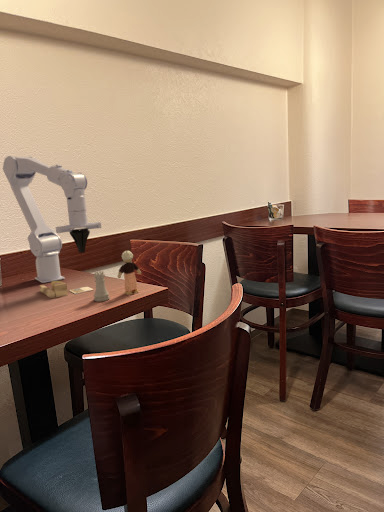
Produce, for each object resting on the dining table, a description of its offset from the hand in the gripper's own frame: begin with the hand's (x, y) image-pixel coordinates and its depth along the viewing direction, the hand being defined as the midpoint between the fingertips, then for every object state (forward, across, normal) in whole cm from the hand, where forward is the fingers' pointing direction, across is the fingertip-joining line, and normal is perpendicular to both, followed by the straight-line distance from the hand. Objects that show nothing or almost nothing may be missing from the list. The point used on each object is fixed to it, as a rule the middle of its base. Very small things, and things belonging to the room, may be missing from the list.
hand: (81, 252), depth 133 cm
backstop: (+10, -14, -4) cm, 18 cm away
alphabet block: (+11, -10, -3) cm, 15 cm away
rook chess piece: (+11, -4, -23) cm, 26 cm away
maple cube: (+10, -11, -8) cm, 17 cm away
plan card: (+10, -4, -8) cm, 14 cm away
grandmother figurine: (+11, +5, -23) cm, 26 cm away
